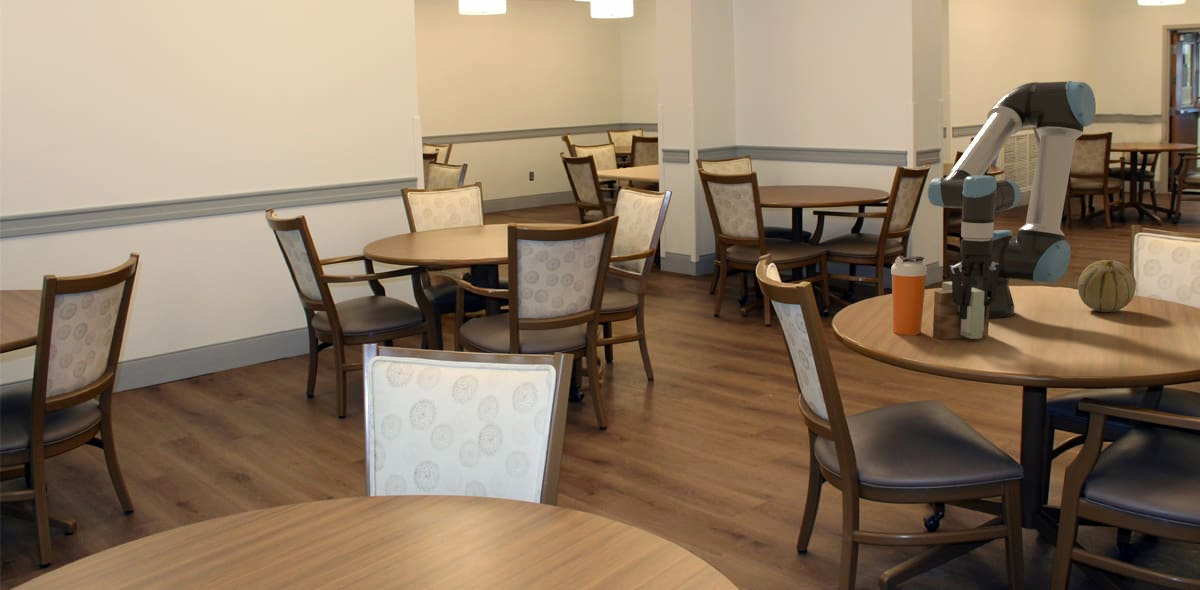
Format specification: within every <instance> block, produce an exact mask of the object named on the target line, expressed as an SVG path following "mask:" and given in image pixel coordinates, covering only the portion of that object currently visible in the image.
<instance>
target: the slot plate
mask: <svg viewBox="0 0 1200 590" xmlns="http://www.w3.org/2000/svg"><path fill="white" fill-rule="evenodd" d="M941 285H942V286H941V291H945V290H952V280H951V281H942V283H941ZM968 306H969V307H971V323H970V333H967V332H964V331H962V330H961V333H960V335H962V336H965V337H964V338H968V339H970V340H973V339H974V340H975V339H982V338H983V336H982V330H983V310H984V291H982V290H979V289H976V288H973V287H972V290H971V295H970V300H969V305H968ZM957 312H960V306H959V305H958V308H957ZM961 325H962V319H961Z"/></svg>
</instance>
